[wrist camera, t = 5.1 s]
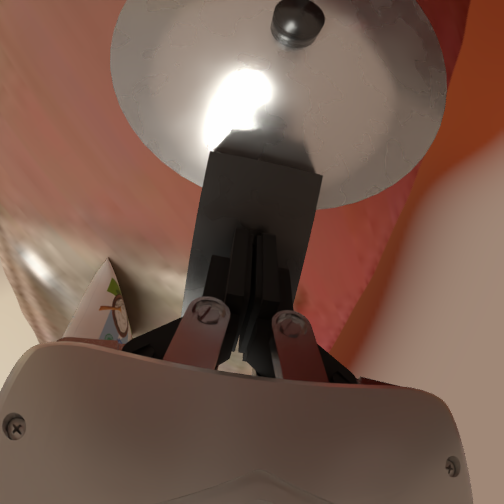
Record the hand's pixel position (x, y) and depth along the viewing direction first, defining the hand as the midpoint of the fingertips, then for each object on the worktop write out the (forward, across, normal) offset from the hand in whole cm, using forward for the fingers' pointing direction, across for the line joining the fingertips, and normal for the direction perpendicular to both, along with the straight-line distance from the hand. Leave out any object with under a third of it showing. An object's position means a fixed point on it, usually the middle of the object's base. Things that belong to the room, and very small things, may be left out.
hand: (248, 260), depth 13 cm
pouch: (+24, +17, +31) cm, 42 cm away
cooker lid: (+6, 0, -7) cm, 9 cm away
